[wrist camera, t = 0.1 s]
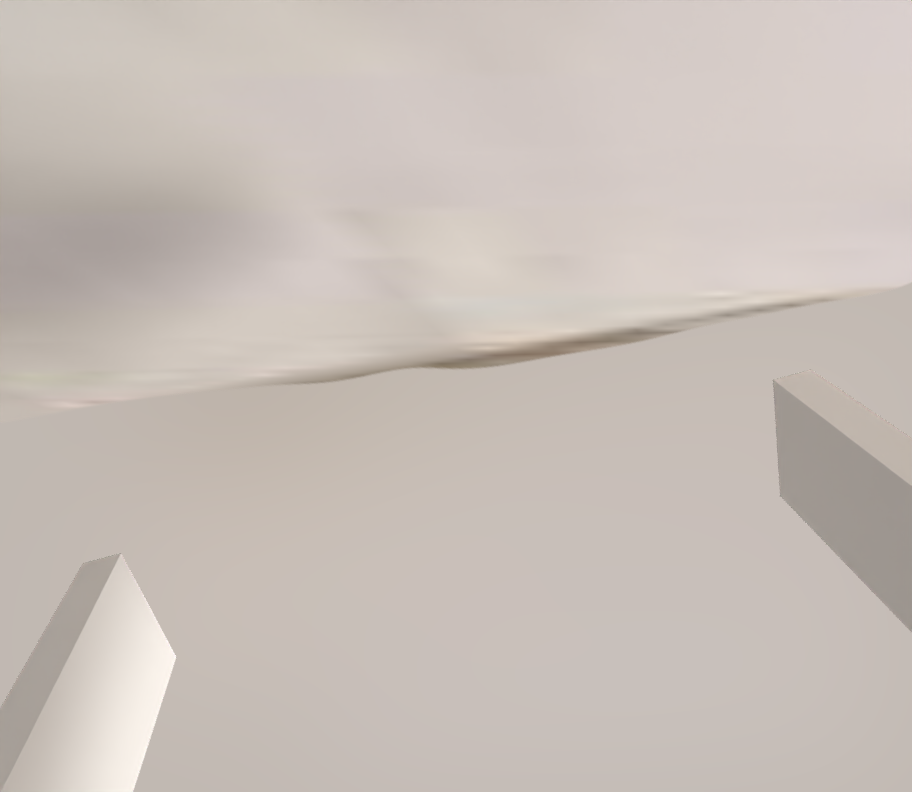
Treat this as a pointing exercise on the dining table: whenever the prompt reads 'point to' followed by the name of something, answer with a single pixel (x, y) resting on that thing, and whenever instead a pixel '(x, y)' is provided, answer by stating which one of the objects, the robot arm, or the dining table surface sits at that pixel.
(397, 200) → the dining table surface
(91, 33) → the dining table surface
